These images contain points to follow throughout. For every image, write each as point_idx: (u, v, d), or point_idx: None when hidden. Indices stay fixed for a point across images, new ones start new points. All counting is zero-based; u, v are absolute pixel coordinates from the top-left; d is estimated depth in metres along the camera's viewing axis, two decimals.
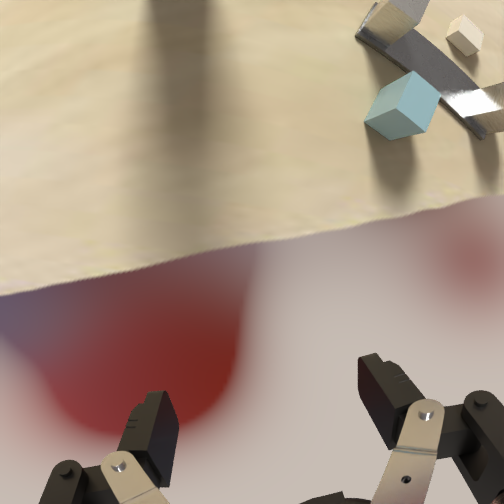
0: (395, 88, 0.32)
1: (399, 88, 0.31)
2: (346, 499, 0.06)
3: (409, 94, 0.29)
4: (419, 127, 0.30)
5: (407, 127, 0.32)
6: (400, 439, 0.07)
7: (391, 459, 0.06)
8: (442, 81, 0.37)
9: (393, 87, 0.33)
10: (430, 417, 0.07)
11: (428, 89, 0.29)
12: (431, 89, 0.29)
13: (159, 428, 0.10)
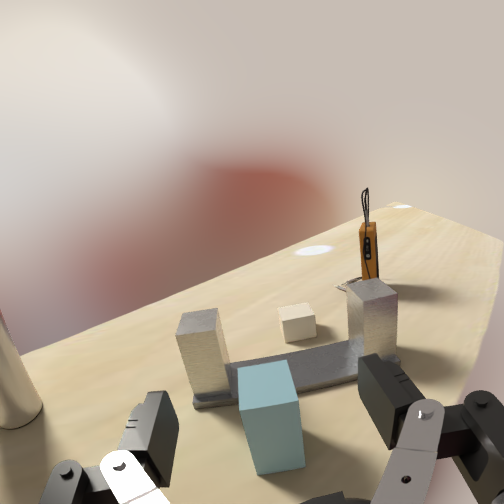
0: None
1: None
2: (346, 499, 0.06)
3: (247, 388, 0.25)
4: (287, 403, 0.22)
5: (283, 422, 0.23)
6: (400, 439, 0.07)
7: (391, 459, 0.06)
8: (310, 371, 0.38)
9: None
10: (430, 417, 0.07)
11: (267, 368, 0.27)
12: (271, 365, 0.27)
13: (159, 427, 0.10)
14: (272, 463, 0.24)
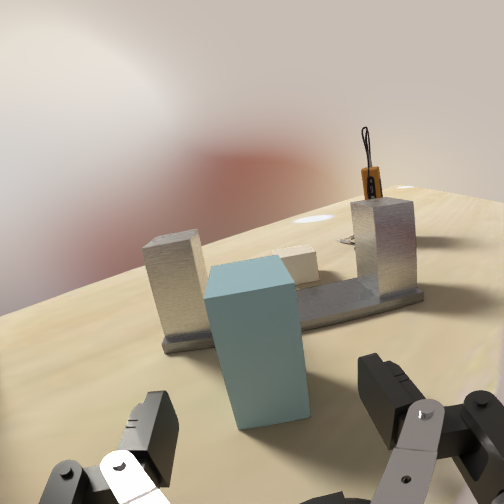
0: None
1: None
2: (346, 499, 0.06)
3: (220, 279, 0.18)
4: (278, 288, 0.16)
5: (274, 326, 0.16)
6: (400, 439, 0.07)
7: (391, 459, 0.06)
8: (312, 306, 0.31)
9: None
10: (430, 417, 0.07)
11: (251, 262, 0.21)
12: (256, 260, 0.21)
13: (159, 428, 0.10)
14: (260, 408, 0.17)
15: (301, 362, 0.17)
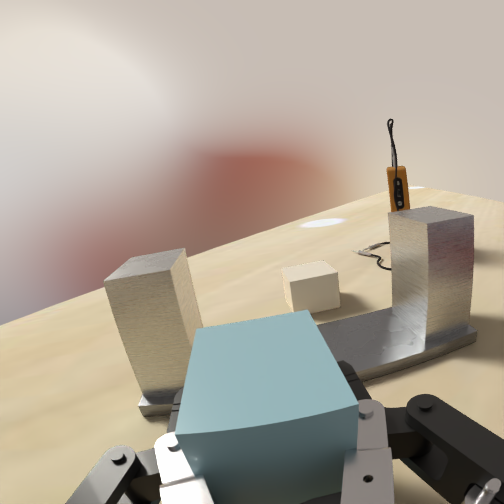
0: None
1: None
2: None
3: (210, 372, 0.09)
4: (325, 416, 0.07)
5: (309, 466, 0.07)
6: None
7: (346, 462, 0.06)
8: (338, 353, 0.22)
9: None
10: (368, 417, 0.08)
11: (264, 327, 0.12)
12: (273, 321, 0.12)
13: None
14: None
15: None
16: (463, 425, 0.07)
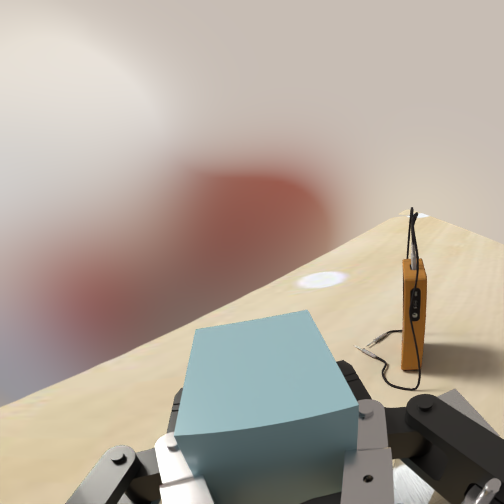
0: None
1: None
2: None
3: (209, 372, 0.09)
4: (325, 417, 0.07)
5: (309, 467, 0.07)
6: None
7: (346, 462, 0.06)
8: None
9: None
10: (368, 417, 0.08)
11: (264, 327, 0.12)
12: (272, 322, 0.12)
13: None
14: None
15: None
16: (463, 426, 0.07)
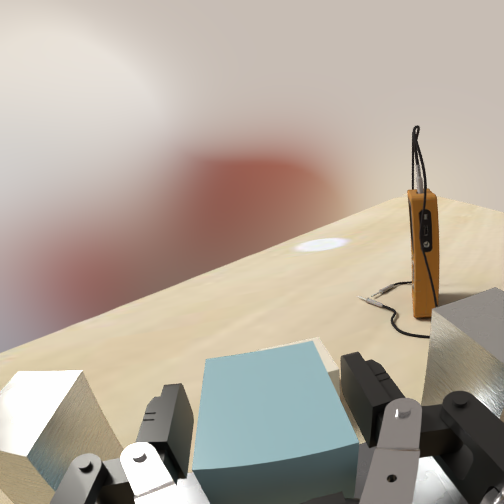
0: None
1: None
2: (346, 499, 0.06)
3: (221, 407, 0.10)
4: (328, 453, 0.07)
5: (313, 492, 0.08)
6: (380, 439, 0.07)
7: (374, 459, 0.06)
8: None
9: None
10: (406, 416, 0.08)
11: (271, 359, 0.12)
12: (279, 353, 0.12)
13: (176, 419, 0.10)
14: None
15: None
16: (492, 425, 0.06)
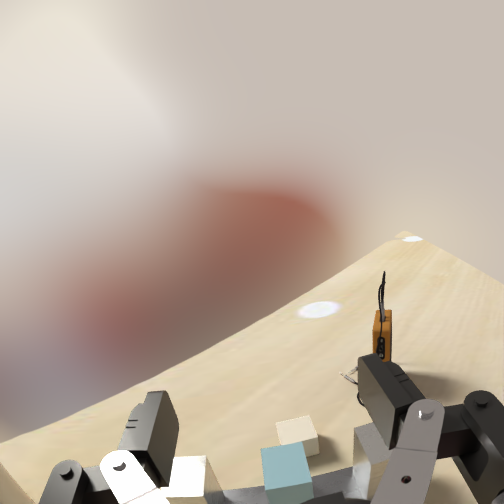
0: None
1: None
2: (346, 499, 0.06)
3: (270, 469, 0.27)
4: (303, 484, 0.24)
5: (299, 494, 0.25)
6: (400, 439, 0.07)
7: (391, 459, 0.06)
8: None
9: None
10: (430, 417, 0.07)
11: (286, 449, 0.29)
12: (289, 447, 0.29)
13: (159, 428, 0.10)
14: None
15: None
16: None
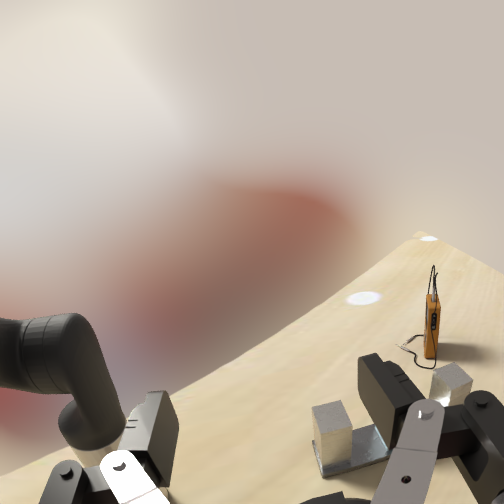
0: None
1: None
2: (346, 499, 0.06)
3: None
4: None
5: None
6: (400, 439, 0.07)
7: (391, 459, 0.06)
8: None
9: None
10: (430, 417, 0.07)
11: None
12: None
13: (159, 428, 0.10)
14: None
15: None
16: None
